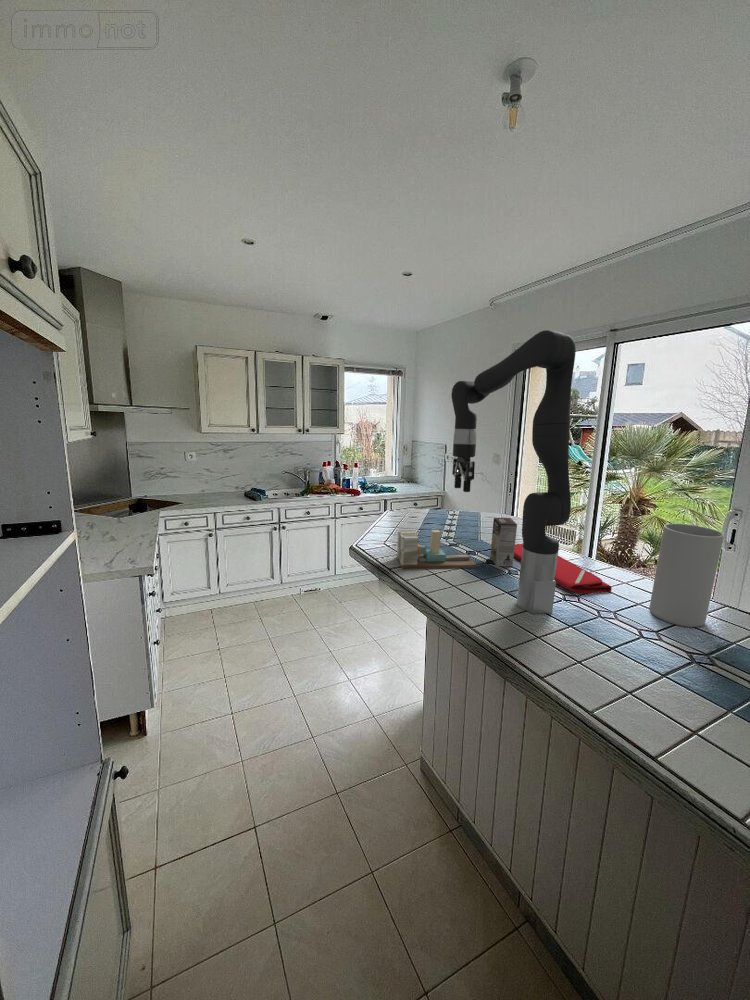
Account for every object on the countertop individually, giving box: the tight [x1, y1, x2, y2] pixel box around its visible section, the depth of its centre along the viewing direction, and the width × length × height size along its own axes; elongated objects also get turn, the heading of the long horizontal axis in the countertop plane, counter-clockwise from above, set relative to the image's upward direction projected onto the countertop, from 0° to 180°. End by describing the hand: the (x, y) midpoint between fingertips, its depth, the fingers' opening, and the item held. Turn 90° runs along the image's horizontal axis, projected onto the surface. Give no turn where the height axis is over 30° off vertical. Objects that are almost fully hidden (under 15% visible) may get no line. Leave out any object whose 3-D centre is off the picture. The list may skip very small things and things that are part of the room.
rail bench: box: [396, 530, 478, 570], centre depth 146 cm, size 12×27×11 cm, turn 97°
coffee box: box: [490, 517, 518, 567], centre depth 148 cm, size 9×6×16 cm
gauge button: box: [418, 543, 421, 555], centre depth 145 cm, size 3×6×3 cm, turn 97°
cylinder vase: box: [649, 523, 725, 628], centre depth 108 cm, size 12×12×25 cm
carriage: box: [419, 529, 447, 562], centre depth 146 cm, size 6×9×11 cm, turn 97°
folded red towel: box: [514, 543, 613, 594], centre depth 144 cm, size 16×41×4 cm, turn 11°
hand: (461, 489), depth 138 cm, fingers open, 8 cm apart
